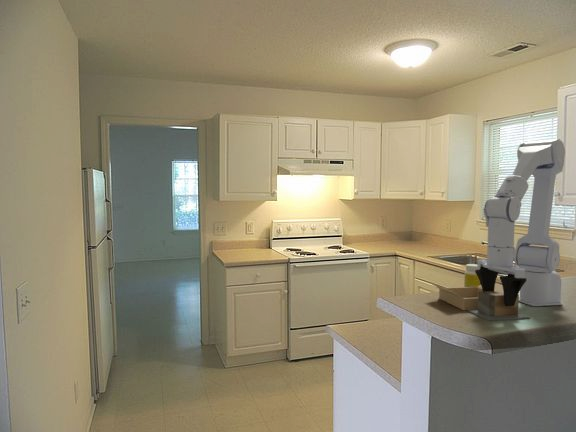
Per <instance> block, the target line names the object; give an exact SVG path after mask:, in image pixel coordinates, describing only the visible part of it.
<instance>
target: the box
mask: <svg viewBox="0 0 576 432" xmlns="http://www.w3.org/2000/svg"><path fill="white" fill-rule="evenodd" d="M519 297H520V293H518V296H517V299H516V302H515V305H514V306H505V304H504V291H488V292H479V297H478V312H480V313H482V314H484V315H486V316H508V315H518V312H519V306H520V305H519V303H520V301H519Z"/></svg>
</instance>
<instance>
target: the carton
mask: <svg viewBox="0 0 576 432" xmlns="http://www.w3.org/2000/svg"><path fill="white" fill-rule="evenodd" d="M430 284H431V285H433V287H436V288H438V289H439V292H438V294H439V295H438V299H439V300H441V301H443V302H445V303H448V304H450V305H452V306H454V307H456V308H459V309H461V310H462V311H468V310H474V309H478V297H479V292H483V291H482V287H481V285H479V286H478V287H464V286H461V287H443V286H441V285H439V284H436V283H433V282H430ZM494 291H503V286H502V283H501V284H500V283H498V282H495V288H494Z"/></svg>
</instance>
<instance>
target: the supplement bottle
mask: <svg viewBox="0 0 576 432" xmlns="http://www.w3.org/2000/svg"><path fill="white" fill-rule="evenodd" d="M477 265H478V263H477V264H476V263H469V264H468V263H467V264H465V271H464V276H463V277H464V279H463V280H464V281H463V282H464V283H463V287H478V286H479V285H481V283H480V280H479V278H478V276H477V274H476V273H475V270H479V269H480V268H479V267H477Z"/></svg>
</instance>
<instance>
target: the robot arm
mask: <svg viewBox="0 0 576 432" xmlns="http://www.w3.org/2000/svg"><path fill="white" fill-rule="evenodd" d="M564 144H565V143H564V142H563V141H562V140H561V138H555V139H548V140H537V141H522V142H521V143H520V144H519V145H518V147H517V154H516V155H517V161H518V162H517V164H516V166H515V168H514V171H513V172H512V174H511V175H509V176H506V177H505V178H504V180H503V182H502V183H501V185H500V187H499V188H498V189H497V191H496V193H495V195H494V196H492V197H490V198H489V199H487V200H486V201H485V203H484V207H483V215H484V218H485V227H487V251H486V253H487V254H486V258H487V259H477V267H479V268H480V269H479V270H475V273H476V274H477V276H478V278H479V280H480V283H481V287H482V291H483V292H488V291H494V288H495V283H497V282H496V281H497V278H498V275H499V273H501V274H505V275H501V276H499V280H500V282H501V285H502V286H503V291H504V304H505V306H514V305H515V302H516V299H517V296H518V294H519V303H522V304H526V305H528V306H531V307H541V306H542V307H543V306H545V307H546V306H561V305H564V302H562V301H561V299H562V297H561V296H562V278H561V276H560V274H559V273H558V272H557V271H556V270H557V269H558V268H559V265H560V263H561V262H560V261H561V253H560V244H559V243H558V241H556V240H555V239H554V238H552V237H551V236H550V235H549V234H550V227H551V218H552V209H553V203H554V202H553V201H554V191H555V185H556V179H557V178H556V177H557V175H559V174H560V173H562V172H563V170H564V166H565V156H566V148H565V145H564ZM531 176H533V178H534V180H533V189H532V196H531V204H530V213H529V221H528V230H527V233H526V234H525V235H523V236H522V237H519V238H518V239H517V241H516V245H515V227H516V226H515V225H516V224H515V222H516V221H517V220H518V219H519V218H520V214H521V208H522V200H523V198H524V197H525V194H527V191H528V190H529V183H528V180H529V179H530V177H531ZM514 263H515V265H514Z"/></svg>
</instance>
